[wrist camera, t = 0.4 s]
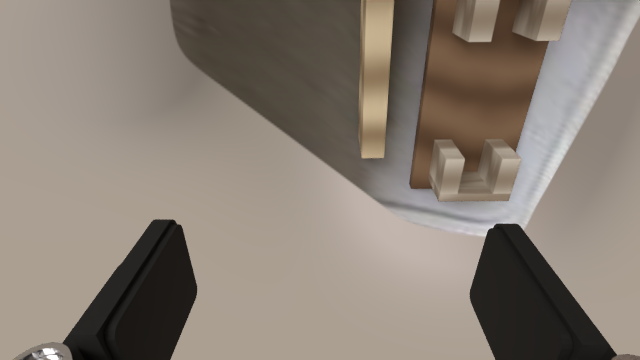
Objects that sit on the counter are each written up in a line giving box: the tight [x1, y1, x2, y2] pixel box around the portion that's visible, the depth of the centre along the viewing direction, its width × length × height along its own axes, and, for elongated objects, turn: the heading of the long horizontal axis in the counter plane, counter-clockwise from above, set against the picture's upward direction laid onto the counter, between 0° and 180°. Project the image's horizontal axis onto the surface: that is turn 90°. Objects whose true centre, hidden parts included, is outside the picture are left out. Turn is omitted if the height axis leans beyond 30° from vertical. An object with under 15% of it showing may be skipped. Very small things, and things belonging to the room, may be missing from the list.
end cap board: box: [409, 0, 572, 201], centre depth 38 cm, size 26×12×6 cm, turn 1°
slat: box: [358, 0, 394, 158], centre depth 37 cm, size 18×2×6 cm, turn 2°
